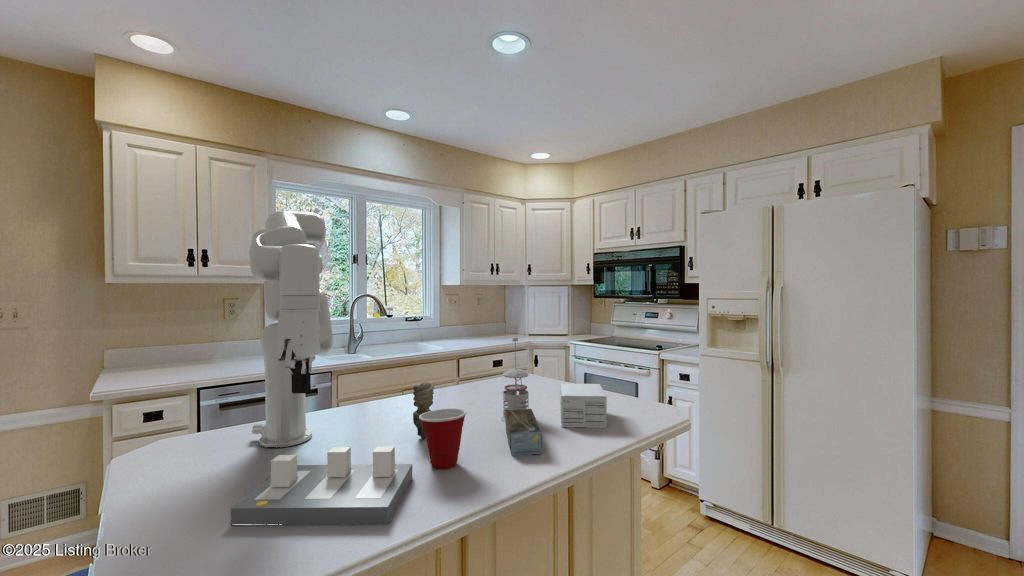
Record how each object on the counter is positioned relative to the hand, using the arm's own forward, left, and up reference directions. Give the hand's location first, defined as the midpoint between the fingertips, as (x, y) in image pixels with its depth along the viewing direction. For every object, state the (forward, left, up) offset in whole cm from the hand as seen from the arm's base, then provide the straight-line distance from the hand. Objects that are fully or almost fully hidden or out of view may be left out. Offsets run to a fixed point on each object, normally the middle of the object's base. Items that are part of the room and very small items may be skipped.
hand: (301, 392), depth 90 cm
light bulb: (+20, +26, -19) cm, 38 cm away
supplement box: (+65, +42, -20) cm, 80 cm away
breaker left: (0, -7, -16) cm, 17 cm away
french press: (+45, +44, -19) cm, 66 cm away
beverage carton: (+46, +23, -20) cm, 55 cm away
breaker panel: (+9, -7, -19) cm, 22 cm away
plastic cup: (+28, +9, -19) cm, 35 cm away
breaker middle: (+9, -3, -16) cm, 18 cm away
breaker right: (+18, -3, -16) cm, 24 cm away
